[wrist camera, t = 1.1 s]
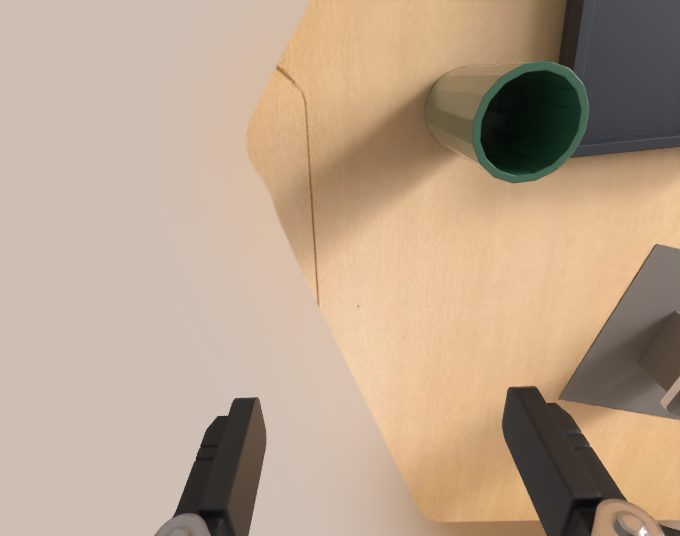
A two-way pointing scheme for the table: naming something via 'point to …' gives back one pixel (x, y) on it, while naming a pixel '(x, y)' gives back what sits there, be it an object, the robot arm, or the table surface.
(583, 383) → the architectural model
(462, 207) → the table surface
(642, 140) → the desk tray
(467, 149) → the pencil cup
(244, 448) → the robot arm
